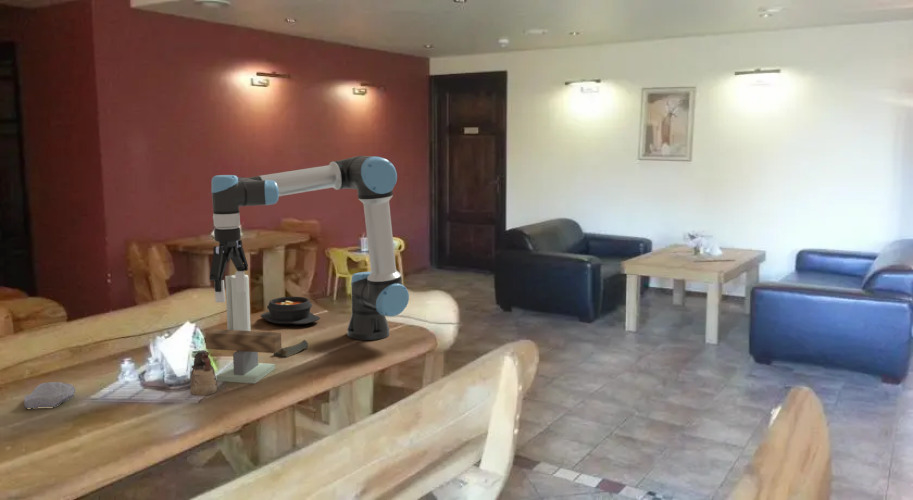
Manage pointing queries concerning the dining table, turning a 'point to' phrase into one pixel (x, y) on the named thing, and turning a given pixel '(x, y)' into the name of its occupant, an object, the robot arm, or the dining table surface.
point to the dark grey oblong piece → (292, 349)
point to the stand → (245, 368)
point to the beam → (243, 340)
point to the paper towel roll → (237, 305)
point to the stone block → (49, 395)
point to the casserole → (290, 311)
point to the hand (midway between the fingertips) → (231, 297)
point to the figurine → (203, 375)
